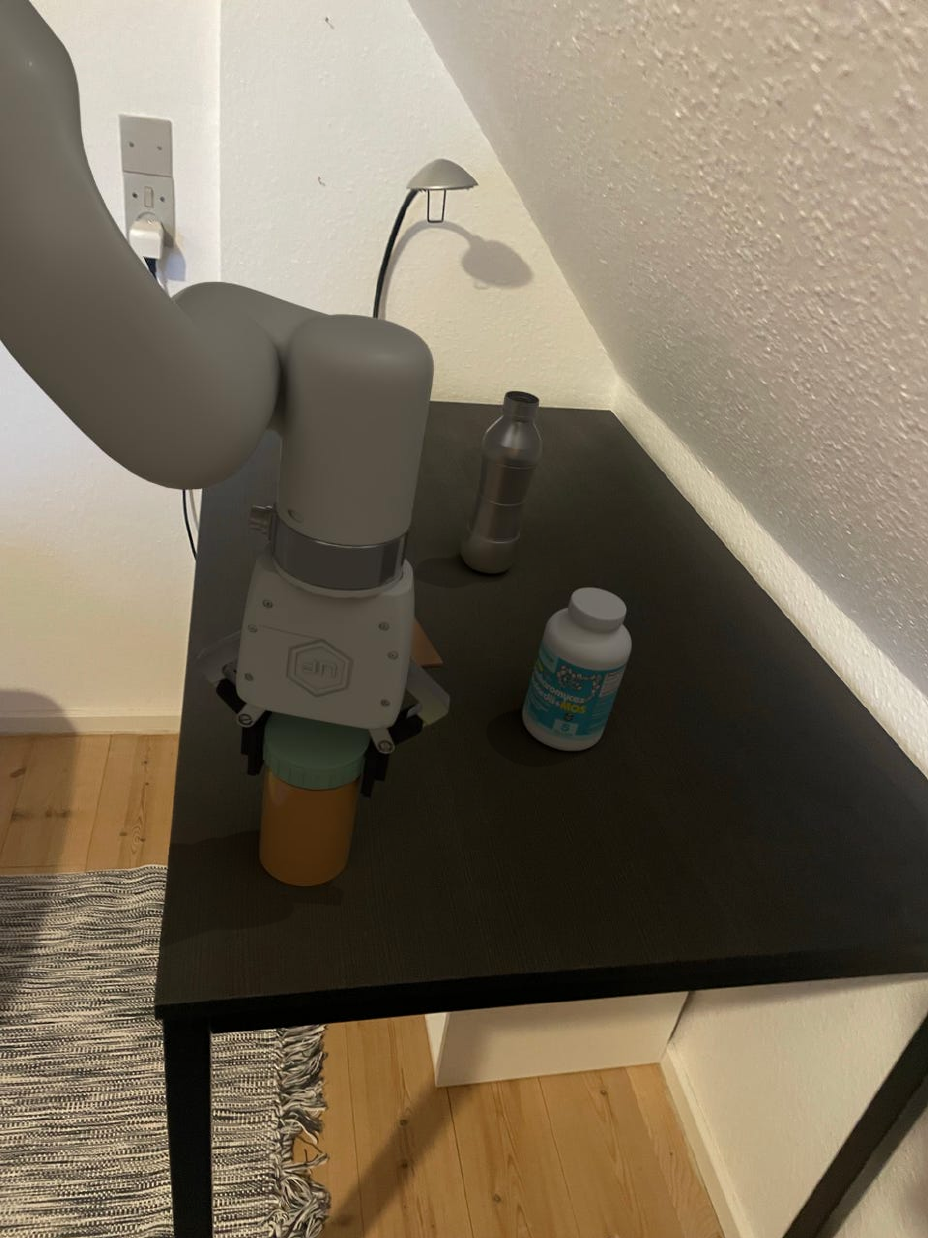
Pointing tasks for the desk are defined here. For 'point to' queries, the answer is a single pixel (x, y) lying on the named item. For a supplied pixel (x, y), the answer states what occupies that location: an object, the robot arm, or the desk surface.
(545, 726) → the pill bottle
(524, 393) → the plastic bottle
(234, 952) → the desk surface
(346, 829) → the jam jar
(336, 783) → the jam lid
